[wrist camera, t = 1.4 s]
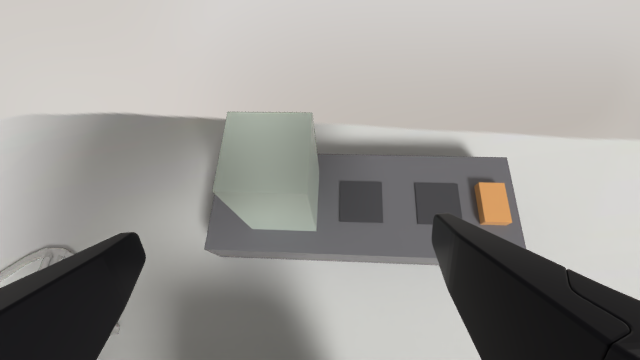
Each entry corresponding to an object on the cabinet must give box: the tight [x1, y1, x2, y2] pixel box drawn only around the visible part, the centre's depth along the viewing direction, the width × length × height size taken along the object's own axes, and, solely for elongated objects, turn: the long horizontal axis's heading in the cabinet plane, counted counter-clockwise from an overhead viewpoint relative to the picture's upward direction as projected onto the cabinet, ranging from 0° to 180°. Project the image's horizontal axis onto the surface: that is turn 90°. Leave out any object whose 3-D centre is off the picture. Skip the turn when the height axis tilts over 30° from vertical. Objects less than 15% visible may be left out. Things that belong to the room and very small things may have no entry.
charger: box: [212, 112, 319, 231], centre depth 19 cm, size 4×4×10 cm
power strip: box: [204, 154, 526, 265], centre depth 21 cm, size 20×7×4 cm, turn 87°
